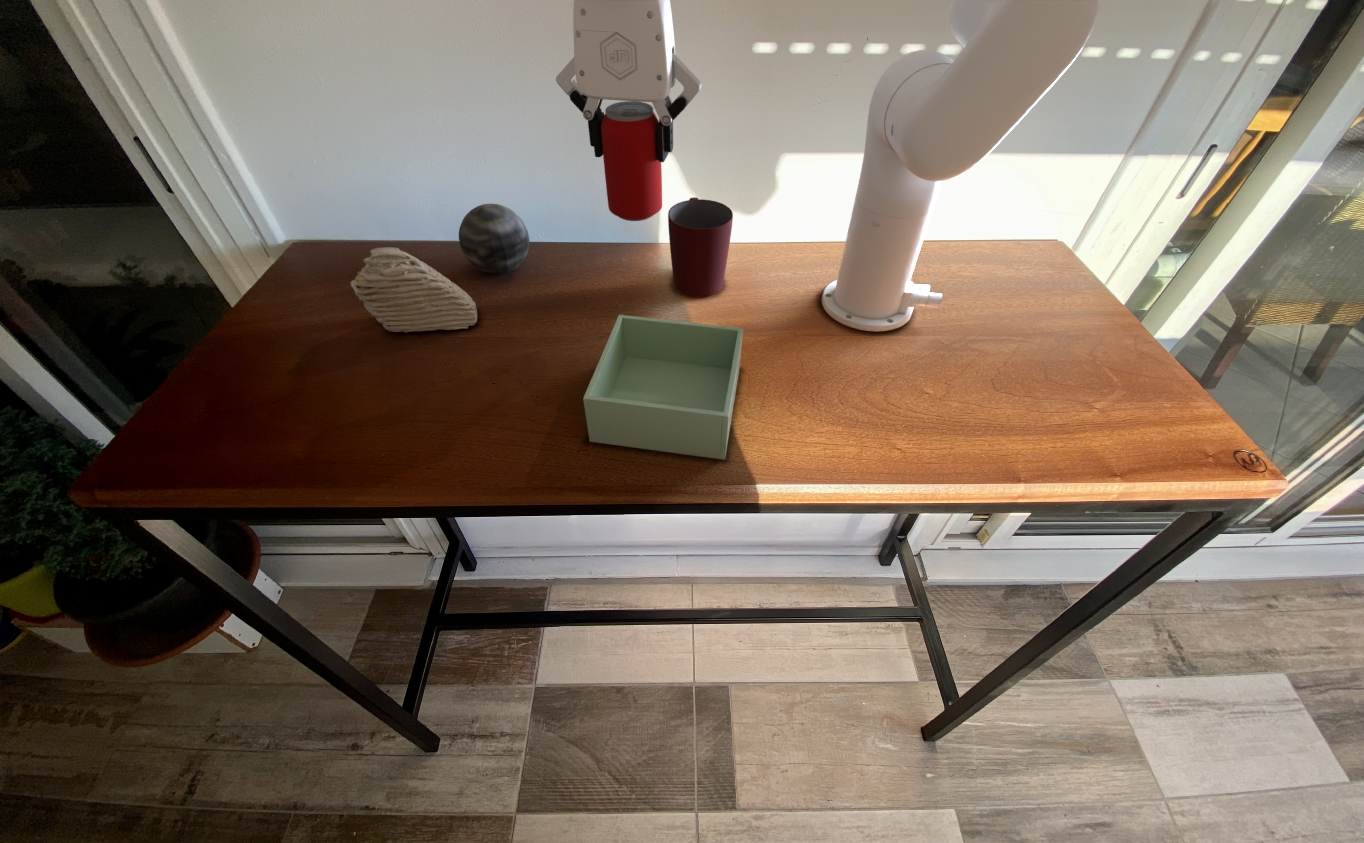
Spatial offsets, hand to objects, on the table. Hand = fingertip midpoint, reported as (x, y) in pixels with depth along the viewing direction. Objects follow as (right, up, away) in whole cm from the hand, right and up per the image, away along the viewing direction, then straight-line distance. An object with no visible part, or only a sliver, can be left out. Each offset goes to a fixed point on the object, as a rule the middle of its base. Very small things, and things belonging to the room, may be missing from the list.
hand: (632, 154), depth 70 cm
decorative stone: (-22, -8, +22) cm, 32 cm away
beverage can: (0, -5, +5) cm, 7 cm away
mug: (+8, -10, +21) cm, 24 cm away
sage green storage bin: (+4, -29, +1) cm, 30 cm away
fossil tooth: (-30, -18, +12) cm, 37 cm away
